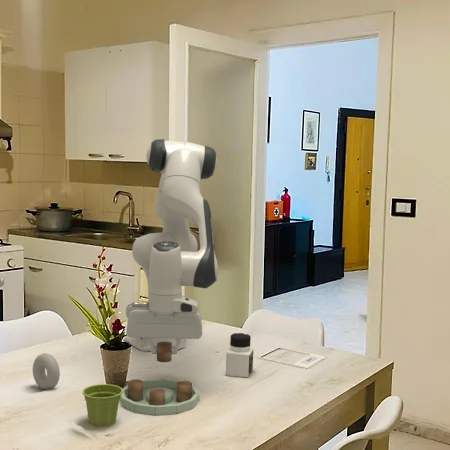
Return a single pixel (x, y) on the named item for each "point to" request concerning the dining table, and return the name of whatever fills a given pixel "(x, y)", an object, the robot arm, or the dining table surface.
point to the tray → (159, 408)
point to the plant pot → (102, 403)
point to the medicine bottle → (239, 356)
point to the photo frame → (303, 363)
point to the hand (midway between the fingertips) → (164, 353)
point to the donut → (40, 375)
